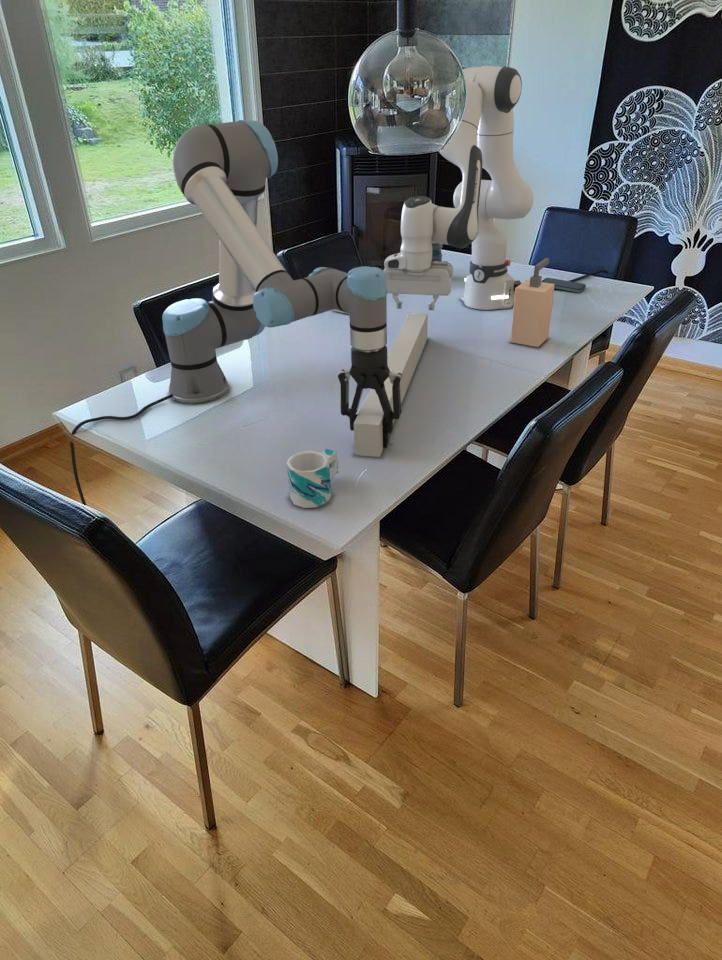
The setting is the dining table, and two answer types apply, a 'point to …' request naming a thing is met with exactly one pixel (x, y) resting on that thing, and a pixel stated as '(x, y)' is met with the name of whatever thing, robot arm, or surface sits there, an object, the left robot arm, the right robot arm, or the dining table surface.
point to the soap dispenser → (532, 309)
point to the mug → (311, 477)
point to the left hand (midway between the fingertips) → (371, 443)
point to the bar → (398, 361)
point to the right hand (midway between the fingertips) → (415, 308)
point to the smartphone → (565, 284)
